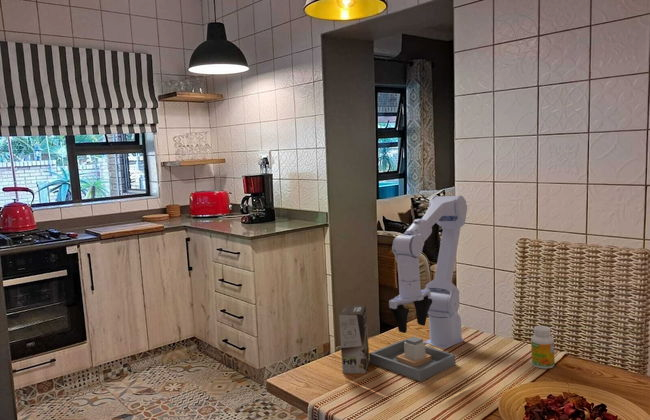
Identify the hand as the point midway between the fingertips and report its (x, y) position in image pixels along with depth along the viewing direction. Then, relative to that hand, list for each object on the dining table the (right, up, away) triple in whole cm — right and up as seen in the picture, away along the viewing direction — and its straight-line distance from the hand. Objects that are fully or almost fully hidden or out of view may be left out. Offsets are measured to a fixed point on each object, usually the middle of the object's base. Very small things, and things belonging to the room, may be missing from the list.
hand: (412, 328), depth 138 cm
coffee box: (-15, -11, 0) cm, 19 cm away
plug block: (+1, -9, 0) cm, 9 cm away
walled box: (0, -10, -1) cm, 10 cm away
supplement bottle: (+32, -8, -7) cm, 34 cm away
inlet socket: (+1, -9, +1) cm, 9 cm away
